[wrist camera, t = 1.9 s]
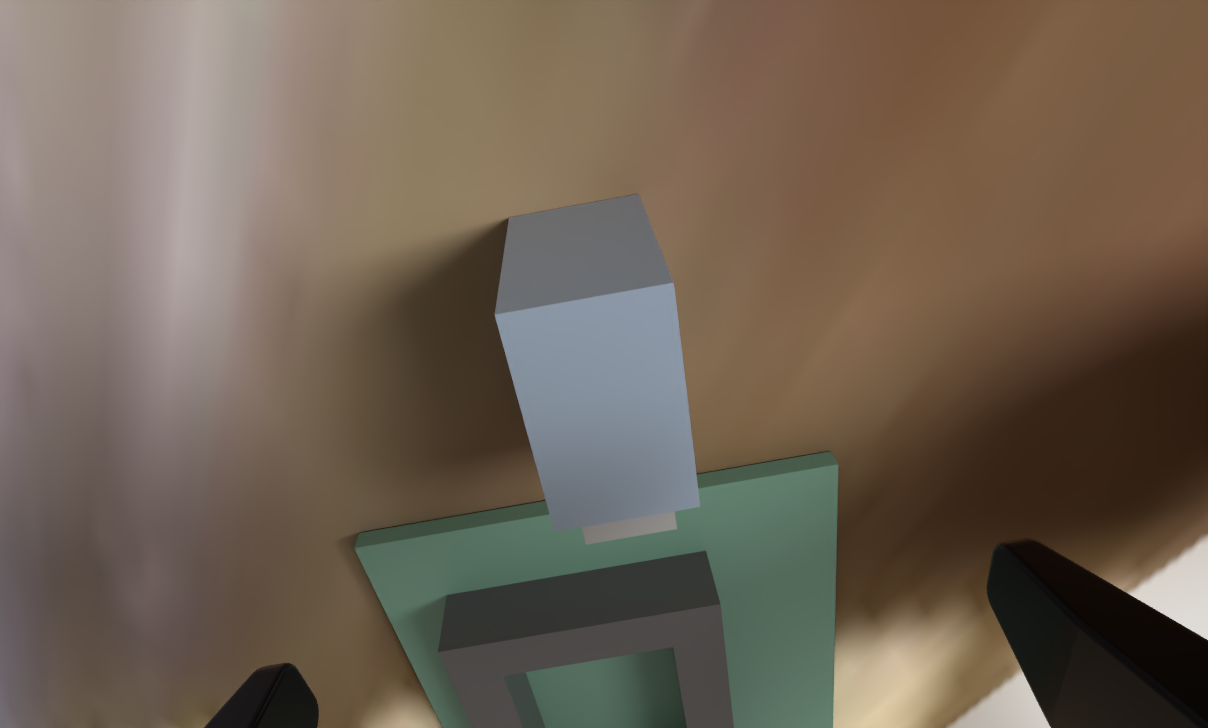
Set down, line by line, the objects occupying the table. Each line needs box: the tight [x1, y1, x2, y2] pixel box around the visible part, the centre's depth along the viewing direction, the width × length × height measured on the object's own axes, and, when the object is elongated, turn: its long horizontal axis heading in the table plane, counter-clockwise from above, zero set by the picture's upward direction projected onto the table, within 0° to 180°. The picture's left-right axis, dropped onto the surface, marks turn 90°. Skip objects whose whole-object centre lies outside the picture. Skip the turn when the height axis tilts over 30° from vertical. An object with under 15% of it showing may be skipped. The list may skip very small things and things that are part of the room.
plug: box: [495, 194, 700, 545], centre depth 15 cm, size 3×6×5 cm, turn 9°
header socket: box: [438, 551, 734, 728], centre depth 23 cm, size 8×11×2 cm
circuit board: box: [354, 451, 838, 728], centre depth 23 cm, size 14×14×1 cm
